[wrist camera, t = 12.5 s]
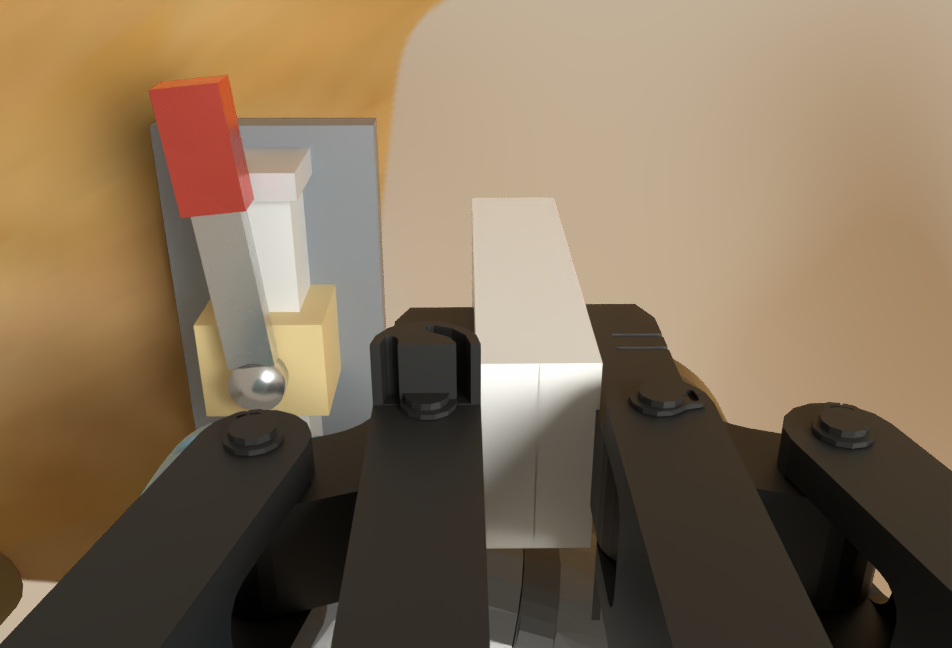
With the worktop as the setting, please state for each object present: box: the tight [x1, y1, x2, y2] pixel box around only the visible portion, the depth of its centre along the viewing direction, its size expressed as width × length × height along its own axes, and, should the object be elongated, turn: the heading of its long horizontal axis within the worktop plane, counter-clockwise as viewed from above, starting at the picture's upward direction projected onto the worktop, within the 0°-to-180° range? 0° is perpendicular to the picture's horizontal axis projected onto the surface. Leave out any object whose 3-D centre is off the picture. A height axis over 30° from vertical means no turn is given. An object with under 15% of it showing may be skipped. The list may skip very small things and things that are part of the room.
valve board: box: [149, 118, 386, 436], centre depth 44 cm, size 20×10×6 cm, turn 0°
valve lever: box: [149, 75, 289, 410], centre depth 38 cm, size 3×14×2 cm, turn 6°
